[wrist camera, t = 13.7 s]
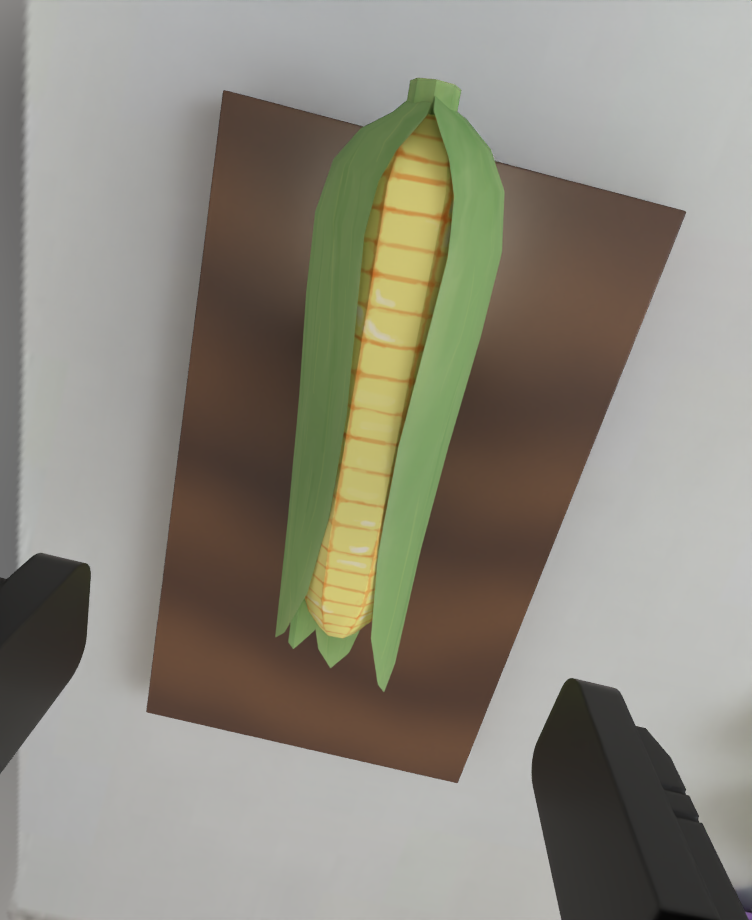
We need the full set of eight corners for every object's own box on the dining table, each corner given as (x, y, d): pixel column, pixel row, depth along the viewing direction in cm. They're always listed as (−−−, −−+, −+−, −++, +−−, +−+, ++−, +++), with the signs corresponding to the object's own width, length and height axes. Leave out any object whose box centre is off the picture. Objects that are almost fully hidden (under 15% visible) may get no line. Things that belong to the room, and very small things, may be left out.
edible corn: (523, 121, 17) (558, 88, 13) (395, 672, 25) (391, 765, 20) (344, 88, 17) (321, 43, 13) (270, 649, 24) (240, 738, 20)
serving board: (236, 99, 19) (222, 89, 17) (667, 212, 19) (687, 211, 18) (159, 687, 28) (145, 712, 26) (455, 755, 28) (457, 783, 27)
